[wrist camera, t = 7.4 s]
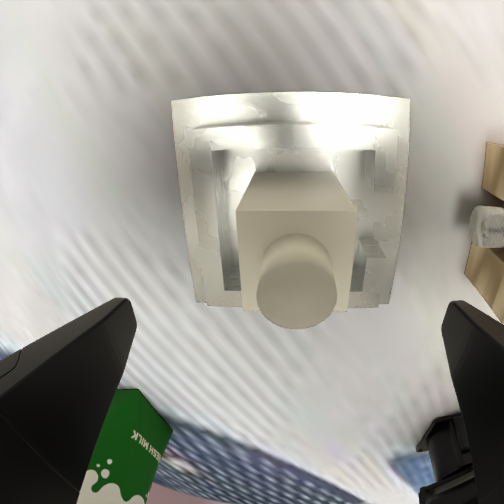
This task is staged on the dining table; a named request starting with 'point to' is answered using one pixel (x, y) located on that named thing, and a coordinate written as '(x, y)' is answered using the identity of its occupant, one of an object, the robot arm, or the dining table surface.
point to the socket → (291, 160)
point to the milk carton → (125, 452)
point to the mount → (490, 259)
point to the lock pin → (487, 226)
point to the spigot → (295, 246)
